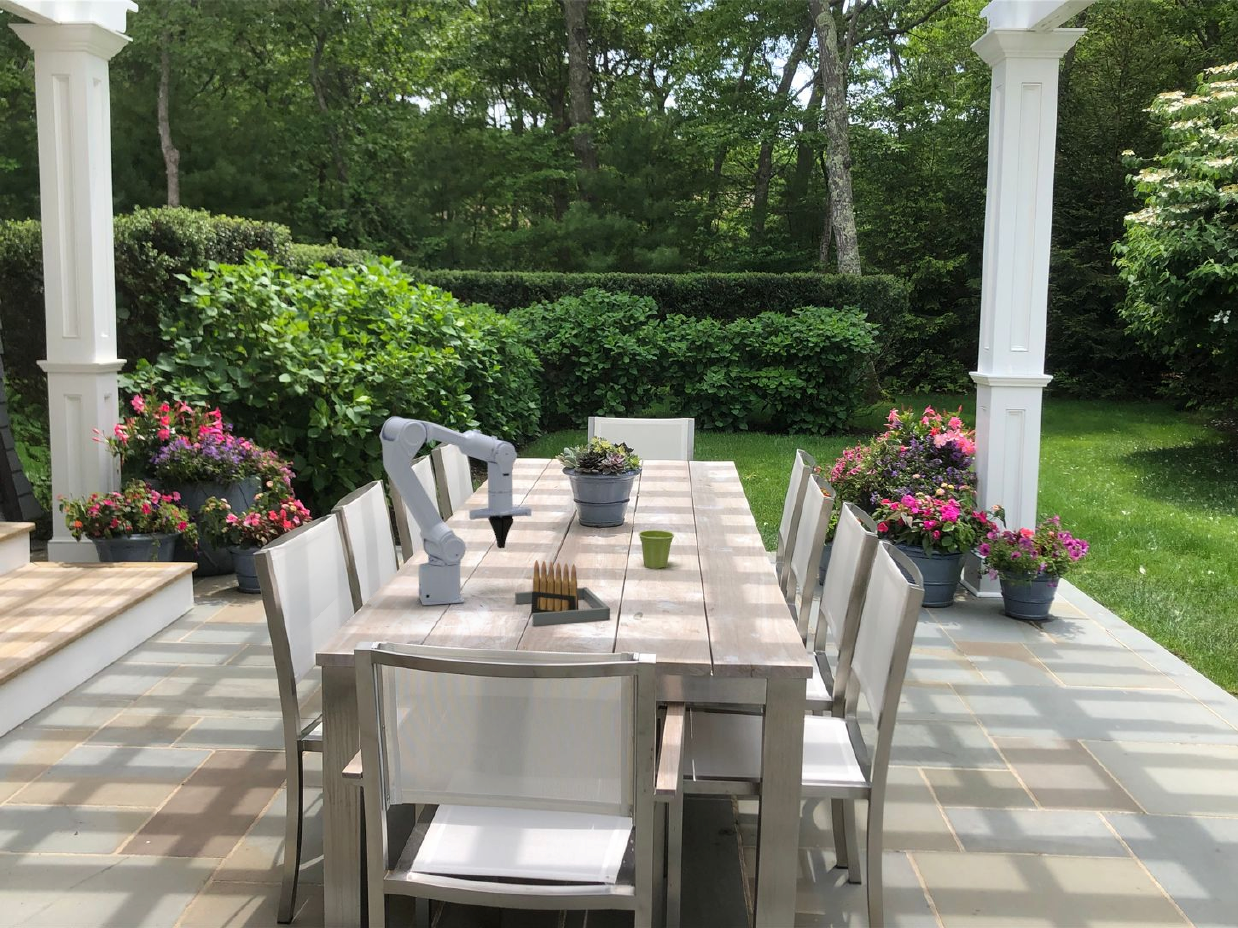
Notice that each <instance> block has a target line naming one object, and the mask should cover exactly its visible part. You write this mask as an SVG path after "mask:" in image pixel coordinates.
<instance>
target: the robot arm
mask: <svg viewBox="0 0 1238 928" xmlns="http://www.w3.org/2000/svg"><path fill="white" fill-rule="evenodd" d="M383 423H384V424H383V426H382V428H381V432H380V433H379V439H380V442H381V445H382V447H381V448H382V463H383V464H382V465H383V468H384V470H385V471H386V473H387V475H388V476H389V478H390V480H391V482H392V484H393V485H394V487H395V489H396V490H397V492H398V494H399V495H400V496H401V498H402V500H403V502H404V504H405V506H406V507H407V509H408V510H409V512H410V513H411V515H412V517H413V519H414V521H415V522H416V523H417V526H418V527H419V529H420V533H419V536H420V538H421V541H422V547H423V551H424V553H425V554H426V555H427V557H428V558H427V560H428V561H427V562H424V563H420V564H419V565H418V599H419V600H420V603H421V604H422V606H432V605H433V606H434V605H443V604H457V603H465V601H466V600H465V599H464V597H463V596H462V594H461V593H462V591H461V561H462V559H463V558H464V556H465V555H466V549H467V548H466V547H467V546H466V544H465V542H464V540H463V539H462V538H461V537H459V536H457V535H456V534H455V532H454V531H453V529H452V528H451V527H450V526H449V525H447V523H445V522H444V520H443V519H442V517H441V516H440V515H441V514H439V512H438V510H437V508H436V506H435V505H434V503H433V501H432V500H431V497H429V494H428V493H427V491H426V490H425V487H424V486H423V485H422V483H421V480H420V479H419V478H418V475H417V473H415V470H414V468H412V462H413V459H414V457H415V456H416V454H417V453H418V452H419V450H420V449H421V447H423V444H424V443H430V442H432V441H433V440H434V441H438V442H441V443H445V444H448V445H452V446H455V447H458V449H459V452H460V453H461V454H462V455H465V456H467V457H471V458H475V459H478V460H481V461H484V462H486V463H487V508H486V507H485V508H479V509H470V510H469V513H468V514H469V519H470V520H471V521H472V520H473V521H474V520H476V519H477V520H478V519H480V520H481V519H487V520H488V522H489V523H490V526H491V528H492V530H493V533H494V536H495V541H496V545H497V547H498V548H499V549H504V548H506V543H507V542H506V541H507V537H508V534H509V532H510V529H511V528H512V526H513V524H514V517H525V516H526V517H532V508H531V507H530V506H514V505H513V502H514V501H513V499H514V498H513V470H514V464H515V462H516V460H517V457H518V452H516V449H515V446H514V445H513V444H512V443H511V442H508V441H505V440H499V439H498V437H497V436H495V435H491V436H489V435H487V434H483V433H481V432H482V431H481V430H479V429H474V428H473V430H471V429H469V430H466V431H465V432H463V433H462V432H458V431H456V430H454V429H450V428H448V427H445V426H443V425H440V424H437V423H434V422H430V421H425V420H419V419H418V420H417V419H412V418H403V417H401V416H391V417H389V418H388V419H387V420H386V421H384V422H383Z"/></svg>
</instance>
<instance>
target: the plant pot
mask: <svg viewBox="0 0 1238 928" xmlns="http://www.w3.org/2000/svg"><path fill="white" fill-rule="evenodd" d="M638 536H639V539H640V542H641V549H642V562H643V566H644V567H647V568H648V569H655V570H656V569H658V570H659V569H661V568H667V566H668V562H669V555H670V549H671V544H672V542H673V538H674V537H675V534H674V533H673V532H671V531H666V530H658V529H657V530H656V529H653V530H652V529H651V530H650V529H649V530H643V531H640V532H638Z"/></svg>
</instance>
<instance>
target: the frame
mask: <svg viewBox="0 0 1238 928" xmlns="http://www.w3.org/2000/svg"><path fill="white" fill-rule="evenodd" d="M532 591H533V590H531V591H517V592H515V593H514V597H515V598H514V601H515V602H514V603H515V604H516V605H524V604H532ZM577 594H578V600H584V601H585V602H586V603H587V604H588V605H589V606H590V605H591V606H592V607H591V606H590V607H591V608H584V609H583V608H581V609H579V610H568V611H556V612H543V613H531V614H532V617H531V618H532V621H531V622H532V626H533V627H537V626H538V627H539V626H550V625H561V624H562V625H563V624H572V623H573V624H575V623H585V622H587V623H588V622H597V621H599V620H600V621H606V620H605V619H610V620H611V608H610V607H609V606H608V605H607V604H606V603H605V602H603V600H602V599H600V598H599V597H598V596H597V595H596V594H595V593H594V592H593V591H591V589H590V588H589V587H587V586H585V587H584V586H583V587H577ZM600 621H599V622H600Z"/></svg>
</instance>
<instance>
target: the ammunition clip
mask: <svg viewBox="0 0 1238 928" xmlns="http://www.w3.org/2000/svg"><path fill="white" fill-rule="evenodd" d="M540 570H541V571H540ZM547 570H548V571H547ZM569 571H570V572H569ZM547 572H548V574H547ZM562 574H563V575H562ZM577 588H578V577H577V568H576V565H575V563H573V564H572V566H571V570H569V566H568V563H567V562H566V563H565V564H564V567H563V573H562V567H561V563H560V562H557V564H556V569H554V563H553V562H552V561H550V562H549V566H548V569H547V565H546V562H545V560H543V561H542V563H541V569H540V564H539V561H538V560H535V563H534V567H533V577H532V590H531V591H532V603H531V605H530V606H531V607H530V609H531V610H530V612H531V614H532V613H543V612H556V611H568V610H580V609H579V599H578V594H577Z"/></svg>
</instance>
